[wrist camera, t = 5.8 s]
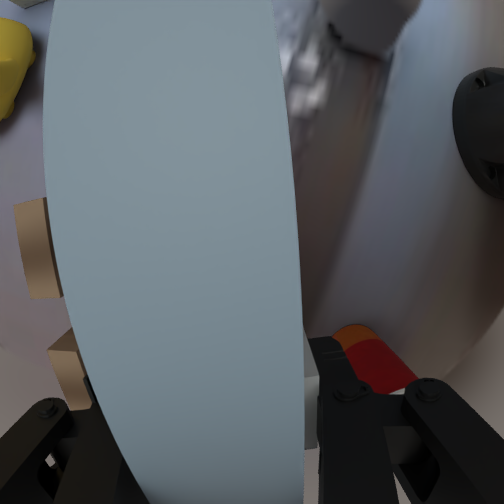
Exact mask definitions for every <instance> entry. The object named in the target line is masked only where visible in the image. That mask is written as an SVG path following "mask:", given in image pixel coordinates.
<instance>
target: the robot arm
mask: <svg viewBox="0 0 504 504" xmlns="http://www.w3.org/2000/svg"><path fill="white" fill-rule="evenodd" d="M453 123H454V131H455V136H456V141H457V144H458V148H459V151H460V154H461V156H462V159H463V161H464V163H465V165H466V167H467V169H468V171H469V173H470V174H471V176H472V177H473V179H474V180H475V181H476V182H477V184H478V185H479V186H480V187H481V188H482V189H483V190H484V191H486V192H487V193H488V194H490V195H492V196H494V197H497V198H501V199H504V68H495V67H488V68H483V69H480V70H478V71H475V72H473V73H471V74H469V75H467V76H466V77H465V78H464V79H463V80H462V81H461V83H460V85H459V86H458V89H457V91H456V94H455V98H454V105H453ZM303 352H304V410H305V439H304V450H307V449H314V448H317V442H319V447H320V454H319V470H318V474H319V499H318V500H319V501H318V504H399V500H398V495H397V489H396V484H395V479H394V474H395V476H396V477H397V479H398V481H399V483H400V484H401V486H402V488H403V490H404V492H405V493H406V495H407V497H408V499H409V500H410V502H411V504H504V439H503V438H502V437H501V436H500V435H499V434H498V433H497V432H496V431H495V430H494V429H493V428H492V427H491V426H490V425H489V424H488V423H487V422H486V421H485V420H484V419H483V418H482V417H481V416H480V415H478V413H477V412H476V411H475V410H474V409H473V408H472V407H470V406H469V404H468V403H467V402H466V401H465V400H464V399H462V398H461V397H460V396H459V395H458V394H457V393H456V392H455V391H454V390H453V389H452V388H451V387H450V386H449V385H448V384H446V383H445V382H443V381H441V380H438V379H434V378H422V379H416V380H414V381H412V382H410V383H409V384H408V385H407V386H406V387H405V391H404V394H379V393H375V392H374V390H373V389H372V387H371V386H370V385H369V384H368V383H366V382H364V381H362V380H359V379H358V377H357V375H356V373H355V371H354V369H353V367H352V365H351V364H350V362H349V360H348V358H347V356H346V354H345V352H344V350H343V348H342V346H341V344H340V342H338V341H337V340H335V339H334V338H332V337H331V336H328V337H320V338H312V339H307V337H306V334H305V331H304V328H303ZM83 382H84V384H85V387H86V389H87V392H88V394H89V397H90V399H91V402H92V405H91V407H90V409H83V410H72V411H70V410H69V408H68V406H67V404H66V403H65V401H64V400H62V399H60V398H46V399H43V400H41V401H38V402H37V403H36V404H34V405H33V406H32V407H31V408H30V409H29V410H28V411H27V412H26V413H25V414H24V415H23V416H22V417H21V418H20V419H19V420H18V421H17V422H16V423H15V424H14V425H13V426H12V427H11V428H10V429H9V430H8V431H7V432H6V433H5V434H4V435H3V436H2V437H1V438H0V504H150V503H149V501H148V499H147V498H146V496H145V494H144V493H143V491H142V489H141V488H140V486H139V484H138V482H137V481H136V479H135V477H134V475H133V474H132V472H131V470H130V468H129V466H128V464H127V462H126V460H125V459H124V457H123V455H122V453H121V451H120V449H119V447H118V445H117V443H116V441H115V438H114V436H113V434H112V432H111V430H110V428H109V425H108V423H107V421H106V419H105V416H104V414H103V412H102V409H101V407H100V405H99V402H98V400H97V397H96V395H95V392H94V390H93V387H92V385H91V382H90V379H89V376H88V374H86V375H85V377H84V378H83ZM49 454H51V456H52V458H53V459H54V461H55V464H54V465H53V466H51V467H49V465H48V464H47V462H46V461H45V459H46V458H47V457H48V455H49ZM393 472H394V474H393Z"/></svg>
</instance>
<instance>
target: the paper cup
mask: <svg viewBox="0 0 504 504" xmlns="http://www.w3.org/2000/svg"><path fill="white" fill-rule="evenodd" d="M332 338H334V339H335V340H337V341H338V342H340V344H341V346H342V348H343V350H344V352H345V354H346V356H347V358H348V360H349V362H350V364H351V365H352V367H353V369H354V371H355V373H356V375H357V377H358V379H359V380H362V381H364V382H366V383H368V384H369V385H370V386H371V387H372V389H373V390H374V392H375V393H379V394H404V391H405V387H406V386H407V385H408V384H409V383H410V382H412V381H414V380H416V379H419V378H418V377H417V376H416V375H415V374H414V373H413V372H412V371H411V370H410V369H409V368H408V367H407V366H406V365H405V364H404V362H403V361H402V360H401V359H400V358H399V357H398V356H397V355H396V354H395V353H394V352H393V351H392V350H391V349H390V348H389V347H388V346H387V345H386V344H385V343H384V342H383V341H382V340H381V339H380V338H379V337H378V336H377V335H376V334H375V333H374V332H373V331H372V330H371V329H369V328H368V327H366V326H363V325H349V326H346V327H344V328H342V329H340V330H339V331H337V332H336V333H335V334H334V335H333V336H332Z"/></svg>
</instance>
